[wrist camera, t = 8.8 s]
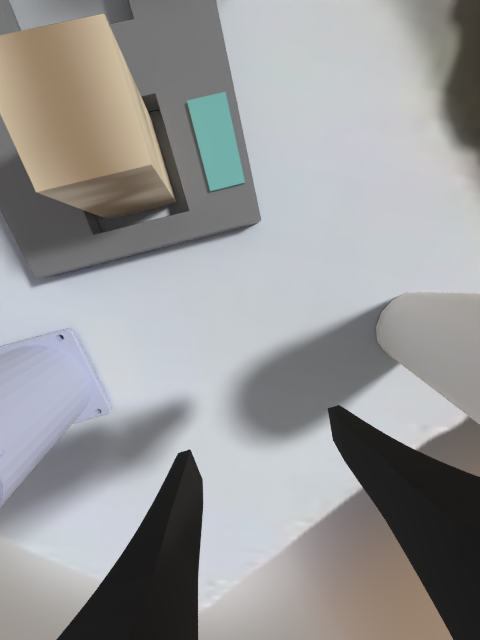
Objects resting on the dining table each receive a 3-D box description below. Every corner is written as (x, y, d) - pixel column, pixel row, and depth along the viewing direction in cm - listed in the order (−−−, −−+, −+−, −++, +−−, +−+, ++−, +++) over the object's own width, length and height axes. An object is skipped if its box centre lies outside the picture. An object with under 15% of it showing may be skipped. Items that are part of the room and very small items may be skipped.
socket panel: (50, 276, 17) (32, 278, 15) (-144, -122, 11) (-206, -188, 9) (257, 223, 17) (261, 219, 16) (172, -178, 12) (166, -248, 10)
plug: (109, 219, 16) (36, 192, 10) (78, 140, 15) (-33, 42, 8) (176, 203, 16) (151, 164, 10) (152, 122, 15) (103, 13, 8)
